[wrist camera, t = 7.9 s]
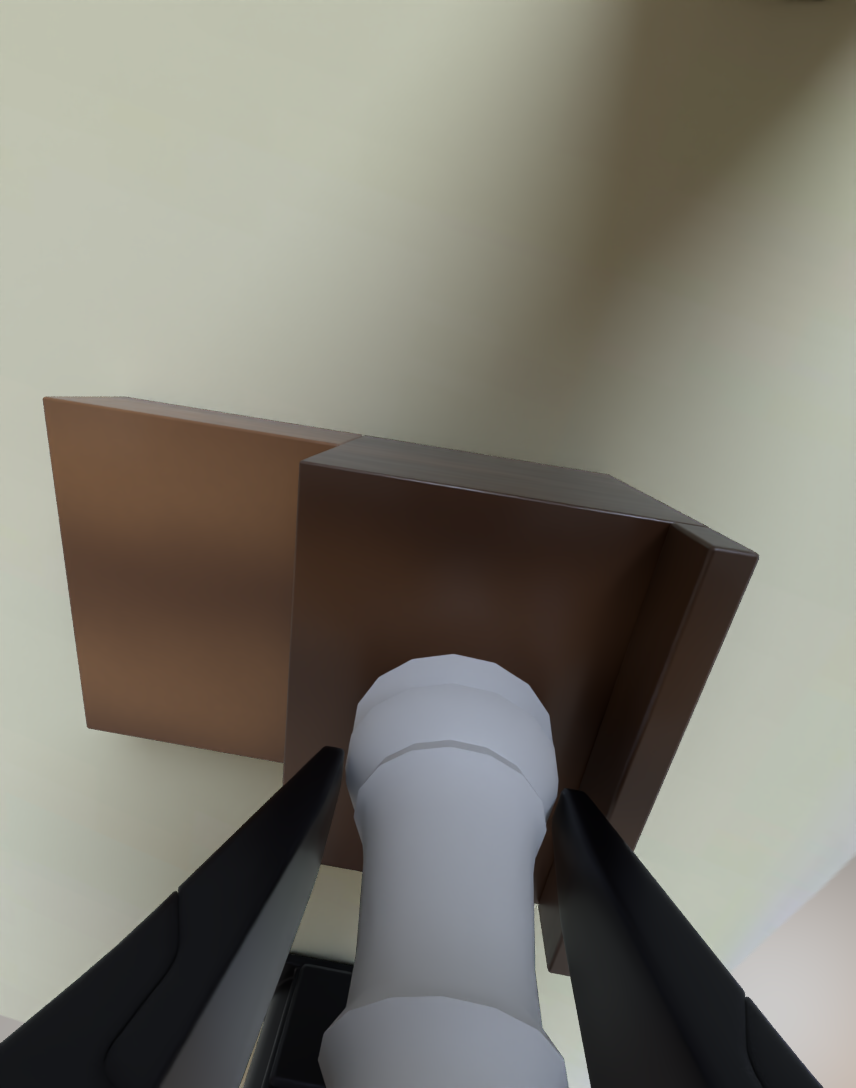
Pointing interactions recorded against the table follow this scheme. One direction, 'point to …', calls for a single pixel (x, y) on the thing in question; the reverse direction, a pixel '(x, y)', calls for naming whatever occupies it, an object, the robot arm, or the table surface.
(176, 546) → the brown wooden stepped block
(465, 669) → the rook chess piece
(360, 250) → the table surface
